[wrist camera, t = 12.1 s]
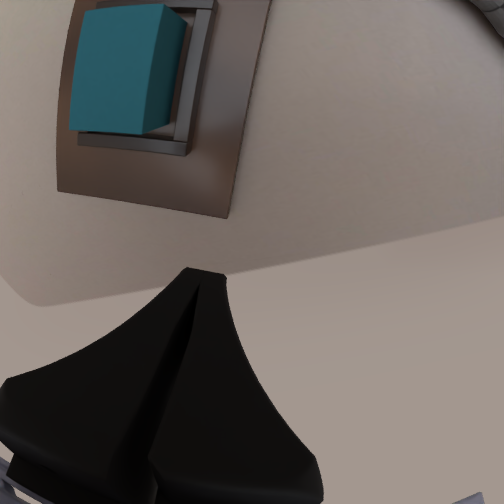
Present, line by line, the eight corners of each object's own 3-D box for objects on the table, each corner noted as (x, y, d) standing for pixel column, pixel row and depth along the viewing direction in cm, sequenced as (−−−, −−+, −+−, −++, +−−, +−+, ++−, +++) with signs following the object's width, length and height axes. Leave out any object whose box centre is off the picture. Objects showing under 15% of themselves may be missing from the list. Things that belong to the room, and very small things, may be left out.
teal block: (169, 124, 15) (141, 135, 11) (106, 119, 15) (68, 130, 11) (187, 22, 12) (164, 3, 8) (121, 23, 12) (84, 10, 8)
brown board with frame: (229, 213, 18) (224, 228, 17) (64, 187, 18) (47, 198, 16) (280, -35, 11) (281, -50, 9) (93, -31, 10) (76, -40, 8)
